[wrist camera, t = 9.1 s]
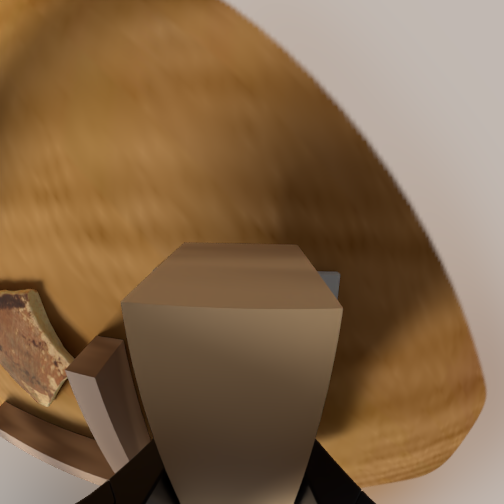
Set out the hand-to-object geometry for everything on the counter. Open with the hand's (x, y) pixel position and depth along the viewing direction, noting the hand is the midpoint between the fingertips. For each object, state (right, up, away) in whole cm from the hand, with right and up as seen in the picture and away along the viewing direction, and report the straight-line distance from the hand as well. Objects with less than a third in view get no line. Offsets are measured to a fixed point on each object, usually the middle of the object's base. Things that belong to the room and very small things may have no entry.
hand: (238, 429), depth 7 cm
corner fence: (-13, -4, +5) cm, 14 cm away
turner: (0, -1, +2) cm, 2 cm away
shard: (-14, 0, +5) cm, 15 cm away
